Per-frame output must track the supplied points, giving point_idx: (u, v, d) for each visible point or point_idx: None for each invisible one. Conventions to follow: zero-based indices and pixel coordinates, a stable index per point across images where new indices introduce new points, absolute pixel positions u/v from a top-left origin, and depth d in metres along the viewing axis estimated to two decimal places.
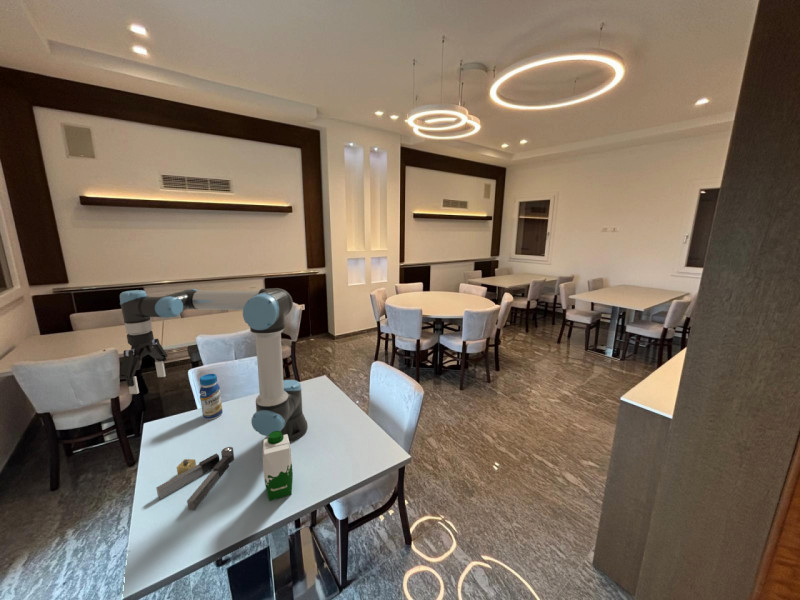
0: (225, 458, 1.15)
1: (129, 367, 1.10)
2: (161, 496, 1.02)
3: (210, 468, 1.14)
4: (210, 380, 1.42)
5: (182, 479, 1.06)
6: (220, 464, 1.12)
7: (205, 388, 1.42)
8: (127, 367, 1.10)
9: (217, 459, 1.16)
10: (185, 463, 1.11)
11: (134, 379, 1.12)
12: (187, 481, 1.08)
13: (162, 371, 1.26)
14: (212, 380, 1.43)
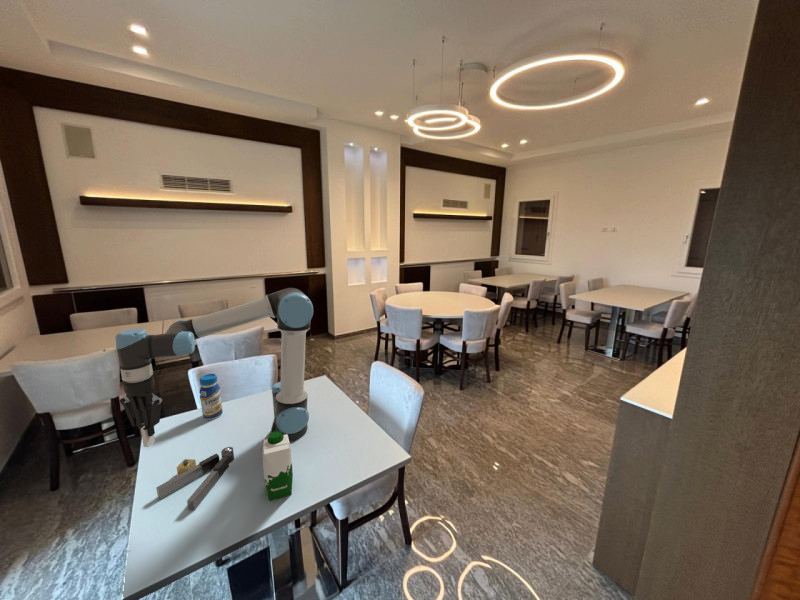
0: (225, 458, 1.15)
1: None
2: (161, 496, 1.02)
3: (210, 468, 1.14)
4: (210, 380, 1.42)
5: (182, 479, 1.06)
6: (220, 464, 1.12)
7: (205, 388, 1.42)
8: (159, 413, 1.01)
9: (217, 459, 1.16)
10: (185, 463, 1.11)
11: None
12: (187, 481, 1.08)
13: None
14: (212, 380, 1.43)
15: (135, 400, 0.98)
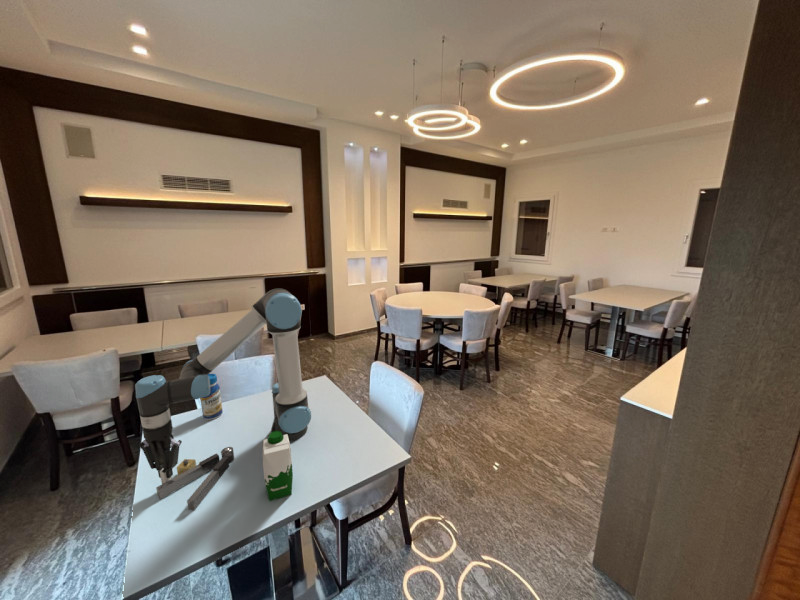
0: (225, 458, 1.15)
1: None
2: (161, 496, 1.02)
3: (210, 468, 1.14)
4: (210, 380, 1.42)
5: (182, 479, 1.06)
6: (220, 464, 1.12)
7: None
8: (177, 456, 1.04)
9: (217, 459, 1.16)
10: (185, 463, 1.11)
11: None
12: (187, 481, 1.08)
13: None
14: (212, 380, 1.43)
15: (154, 444, 1.01)
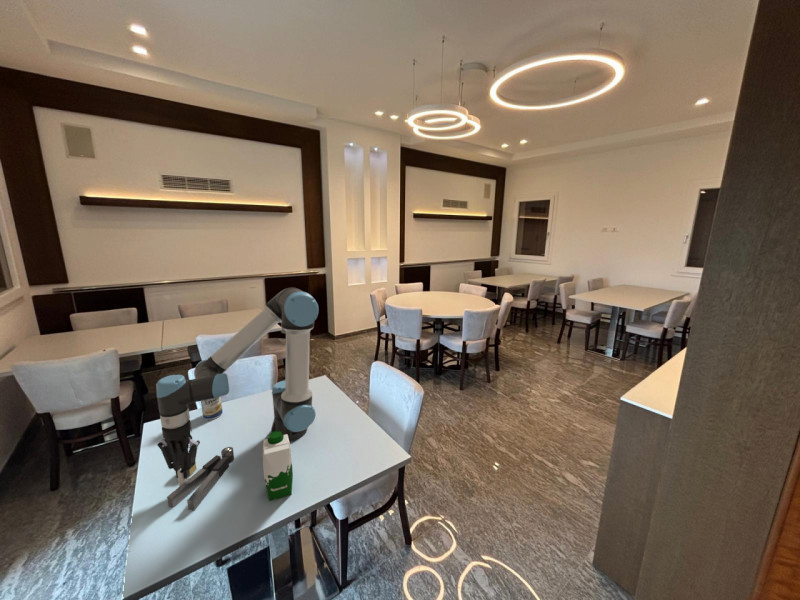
0: (225, 458, 1.15)
1: None
2: (174, 504, 0.99)
3: None
4: None
5: (191, 484, 1.04)
6: (220, 464, 1.12)
7: None
8: (195, 456, 1.04)
9: (219, 460, 1.15)
10: None
11: None
12: (195, 485, 1.06)
13: None
14: None
15: (173, 444, 1.00)
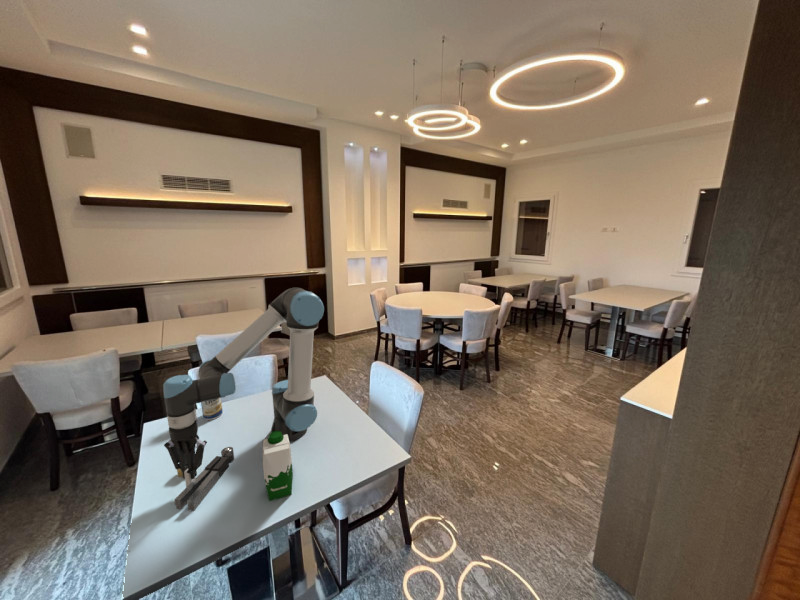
0: (225, 458, 1.15)
1: None
2: (182, 506, 0.98)
3: None
4: None
5: (197, 485, 1.04)
6: (220, 464, 1.12)
7: None
8: (202, 456, 1.04)
9: None
10: None
11: None
12: None
13: None
14: None
15: (180, 445, 1.00)
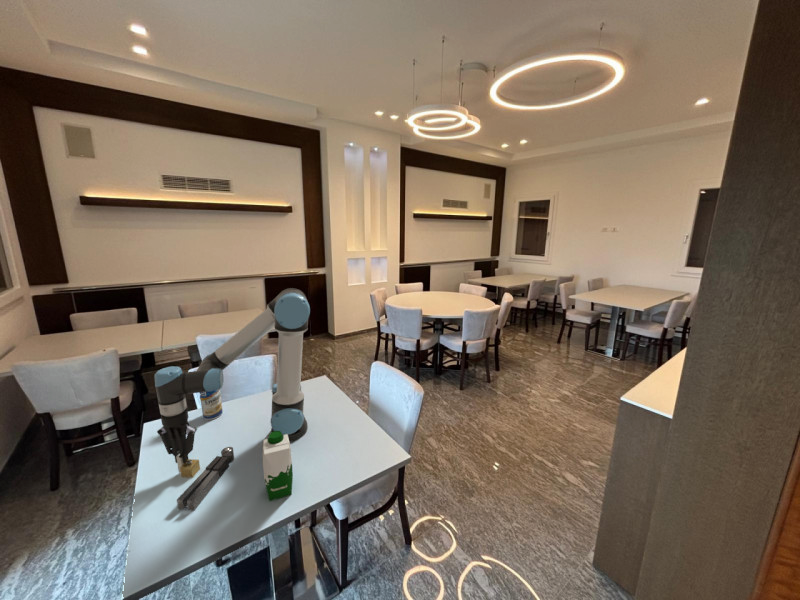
0: (225, 458, 1.15)
1: None
2: (184, 506, 0.98)
3: None
4: None
5: (198, 485, 1.04)
6: (220, 464, 1.12)
7: None
8: (193, 442, 1.11)
9: None
10: (189, 463, 1.11)
11: None
12: None
13: None
14: None
15: (171, 431, 1.08)
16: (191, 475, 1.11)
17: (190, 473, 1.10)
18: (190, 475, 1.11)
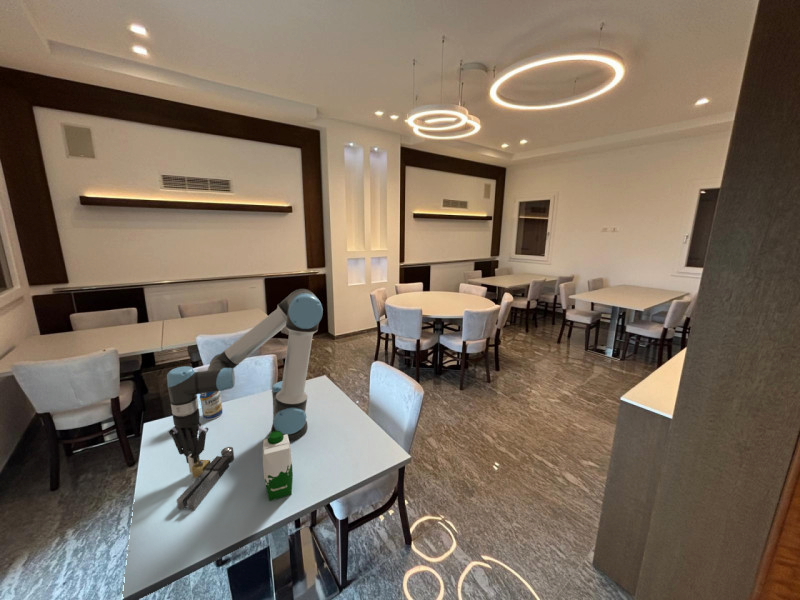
0: (225, 458, 1.15)
1: None
2: (184, 506, 0.98)
3: None
4: None
5: (198, 485, 1.04)
6: (220, 464, 1.12)
7: None
8: (204, 442, 1.11)
9: None
10: (200, 464, 1.11)
11: None
12: None
13: None
14: None
15: (183, 431, 1.08)
16: None
17: (201, 473, 1.10)
18: None
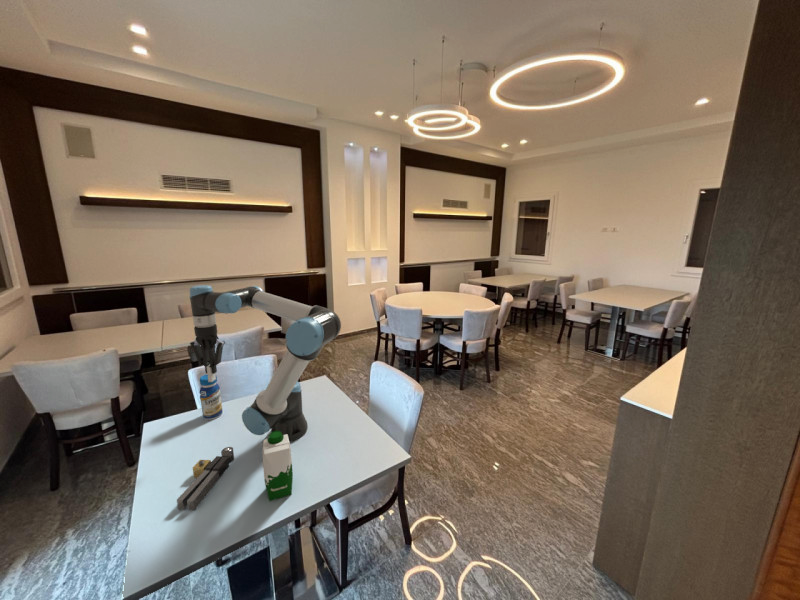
0: (225, 458, 1.15)
1: None
2: (184, 506, 0.98)
3: None
4: None
5: (198, 485, 1.04)
6: (220, 464, 1.12)
7: (205, 388, 1.42)
8: (221, 355, 1.25)
9: None
10: (201, 464, 1.11)
11: None
12: None
13: None
14: None
15: (203, 343, 1.22)
16: None
17: None
18: None
